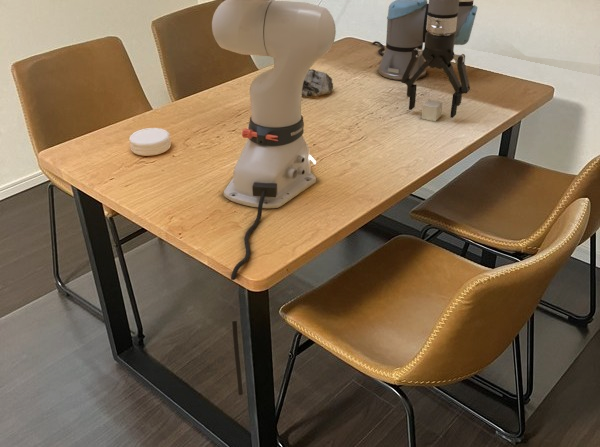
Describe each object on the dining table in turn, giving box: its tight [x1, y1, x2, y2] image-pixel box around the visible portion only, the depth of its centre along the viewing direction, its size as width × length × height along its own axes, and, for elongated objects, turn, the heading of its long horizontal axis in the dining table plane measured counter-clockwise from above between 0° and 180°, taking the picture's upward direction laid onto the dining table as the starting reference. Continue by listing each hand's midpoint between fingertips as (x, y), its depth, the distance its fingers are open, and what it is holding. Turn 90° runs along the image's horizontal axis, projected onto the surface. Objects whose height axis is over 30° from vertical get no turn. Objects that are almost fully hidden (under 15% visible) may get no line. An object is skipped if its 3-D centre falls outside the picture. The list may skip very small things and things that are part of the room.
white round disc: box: [128, 127, 172, 157], centre depth 156 cm, size 10×10×4 cm
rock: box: [302, 68, 334, 97], centre depth 188 cm, size 15×10×7 cm
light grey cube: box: [421, 99, 443, 122], centre depth 170 cm, size 4×4×4 cm
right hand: (432, 112), depth 171 cm, fingers open, 11 cm apart
